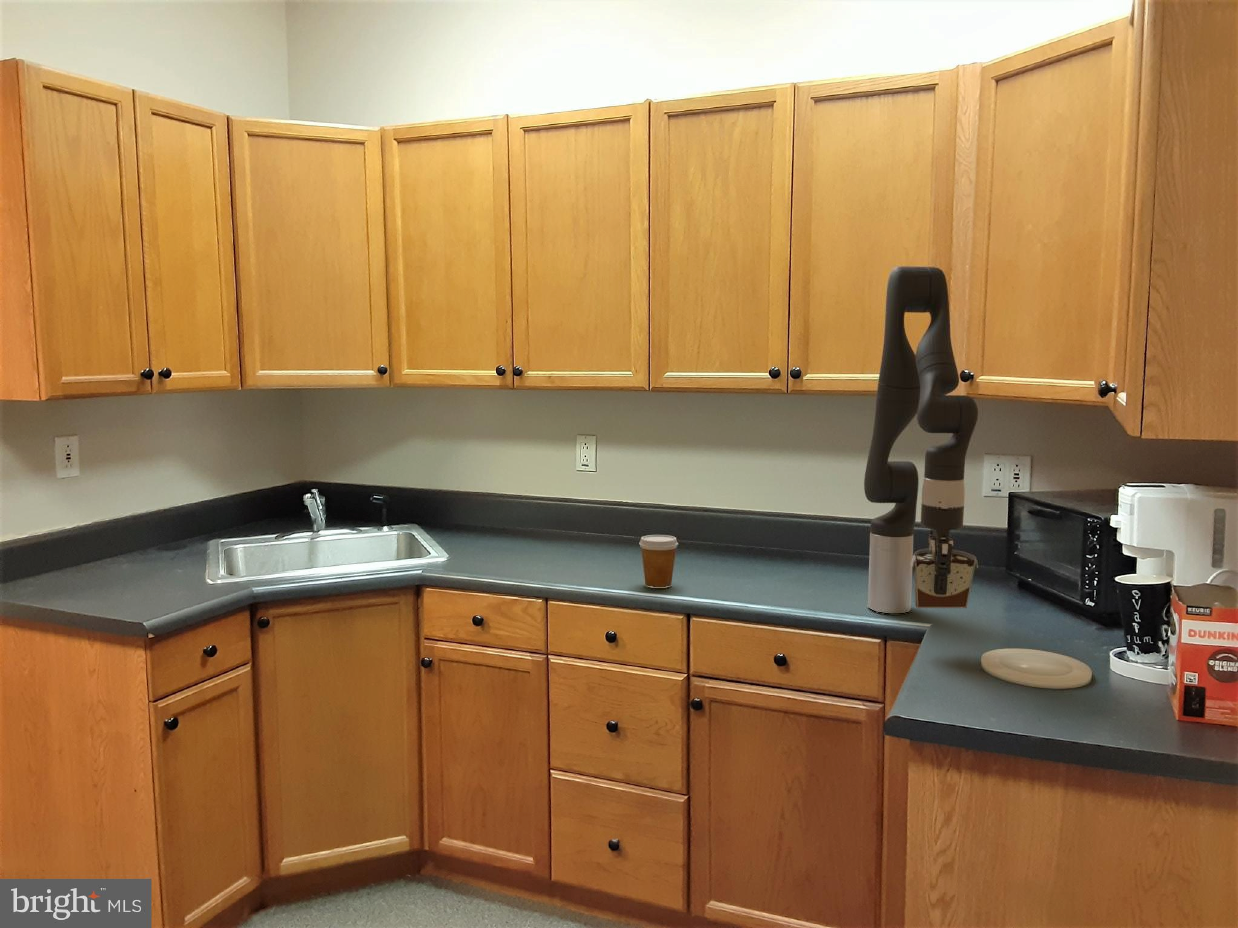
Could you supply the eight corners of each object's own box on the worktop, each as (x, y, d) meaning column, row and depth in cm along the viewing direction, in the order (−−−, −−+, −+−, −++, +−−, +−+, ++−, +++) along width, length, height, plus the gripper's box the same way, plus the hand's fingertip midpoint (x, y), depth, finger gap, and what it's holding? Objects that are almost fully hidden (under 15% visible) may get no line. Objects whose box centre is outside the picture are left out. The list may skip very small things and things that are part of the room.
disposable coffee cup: (683, 583, 226) (683, 536, 225) (669, 592, 218) (669, 543, 216) (648, 579, 230) (648, 533, 229) (632, 588, 222) (632, 539, 220)
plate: (973, 651, 174) (974, 644, 174) (1076, 658, 170) (1076, 651, 170) (989, 683, 157) (990, 676, 156) (1104, 692, 152) (1104, 685, 152)
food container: (962, 596, 177) (966, 547, 175) (974, 608, 171) (979, 557, 169) (899, 596, 177) (902, 547, 175) (909, 608, 171) (912, 557, 169)
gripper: (918, 495, 178) (914, 579, 180) (925, 507, 164) (921, 598, 166) (958, 496, 176) (954, 581, 179) (969, 509, 162) (964, 601, 165)
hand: (938, 589), depth 173 cm, fingers closed on food container, 5 cm apart
